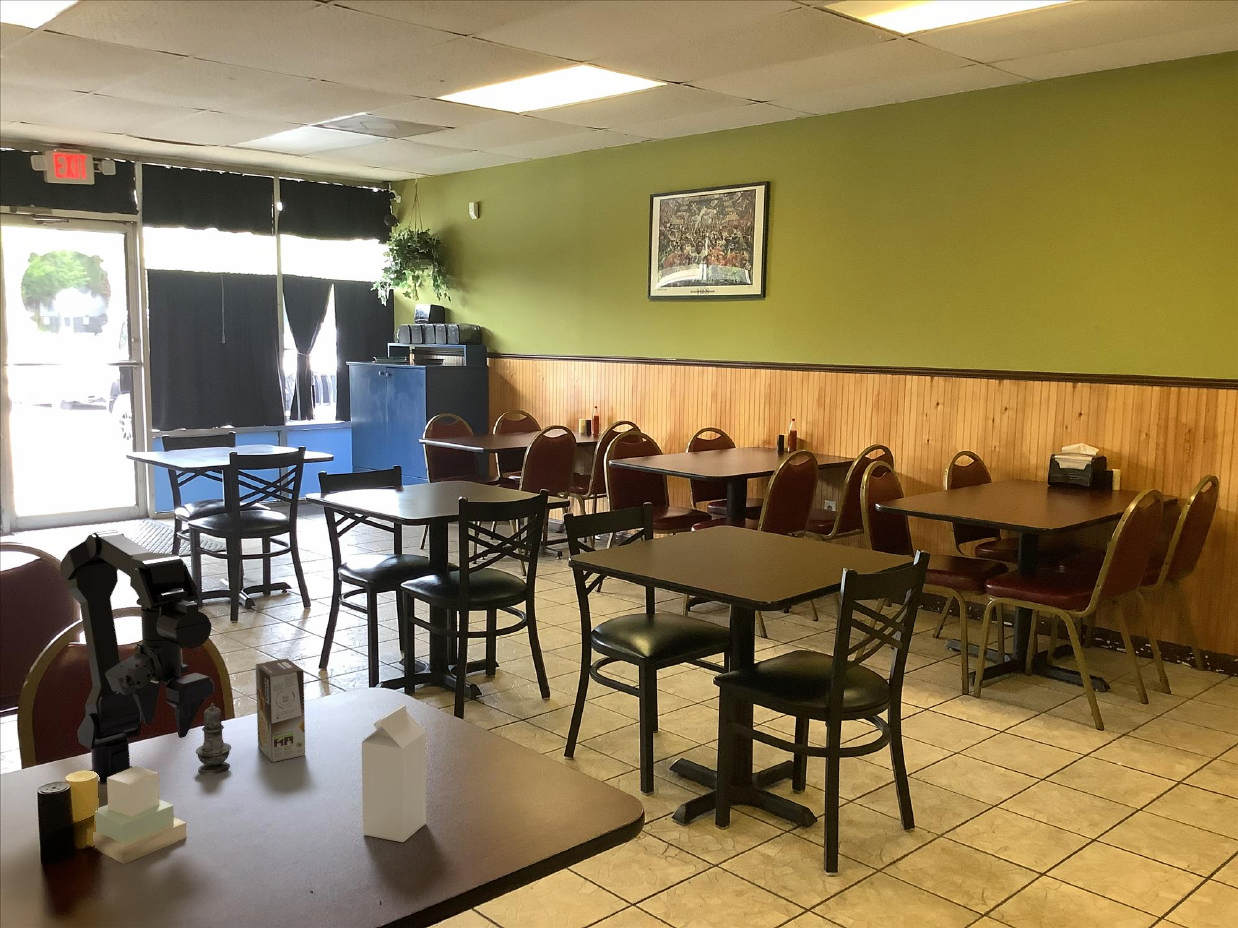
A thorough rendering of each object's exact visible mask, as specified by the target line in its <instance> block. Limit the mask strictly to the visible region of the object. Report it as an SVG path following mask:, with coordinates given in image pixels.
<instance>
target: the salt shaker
mask: <svg viewBox="0 0 1238 928" xmlns="http://www.w3.org/2000/svg"><path fill="white" fill-rule="evenodd" d="M209 705H210V707H207V708H206V709H205V710H204V712H203V727H202V728H201V730H202V732H203V744H202V745H200V746H198V747H197V748H196V750H195V754H197V757H198V760H199V762H200V763H202V765H200V766H199V767H198V769H197V771H198V773H200V774H202V775H218V774H222V773H223V772H226V771H228V770H229V769H230V768H231V764H230V763H229V762H226V760H227V759H228V758H229V756H230V751H231V749H232V746H231V744H230V743H228V742H227V743H226V742H224V739H223V730H224V728H225V726H224V725H222V710H221V709H220V708H219V707H216V706H215V703H213V702H211V703H210V704H209Z"/></svg>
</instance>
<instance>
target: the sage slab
mask: <svg viewBox="0 0 1238 928" xmlns="http://www.w3.org/2000/svg"><path fill="white" fill-rule="evenodd" d="M97 808H98V811H97V810H96V811H95V821H96V831H98V832H100V833H102V834H104V835H106V836H108V837H110V838H112V839H114V840H115V841H117V842H119V843H121V844H126V843H128V842H131V841H133V840H136V839H138V838H141V837H143V836H146V835H148V834H151V833H153V832H156V831H158V830H161V829H163V828H166V827H168V826H171V825H173V824H174V817H175V816H174V815H175V814H174V804H172V803H169V802H166V801H165V800H162V799H160V804H159V805H157V806H155V807H153V808H150V809H148V810H146V811H144V812H142V813H139V814H137V815H135V816H133V817H129V816H126V815H123V814H120V813H116V812H113V811H110V810H108V804H105V805H103V806H100V807H97Z"/></svg>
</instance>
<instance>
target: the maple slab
mask: <svg viewBox="0 0 1238 928" xmlns="http://www.w3.org/2000/svg"><path fill="white" fill-rule="evenodd" d="M186 838H188V837H187V822H186V821H183V820H182V819H179V818H177V817H175V816H174V824H173V825H171V826H168V827H166V828H163V829H161V830H158V831H156V832H153V833H151V834H148V835H146V836H143V837H141V838H138V839H136V840H133V841H131V842H128V843H126V844H121V843H119V842H117V841H115V840H114V839H112V838H110V837H108V836H106V835H104V834H102V833H100V832H98V831H96V832H93V841H94V845H95V848H97V849H98V850H100V851H101V852H100V851H99V852H100V853H102V852H103V853H102V854H104V853H105V854H104V855H106V856H108V857H110V858H111V857H112V858H111V859H113V858H114V860H115V861H117V860H118V861H117V862H119V863H122V864H123V863H124V864H123V865H125V864H128V863H129V862H133V861H134V860H136V859H139V858H141V857H144V856H146V855H149V854H151V853H154V852H156V851H158V850H160V849H162V848H165V847H168V846H170V845H172V844H174V843H177V842H180V841H183V840H185V839H186ZM179 840H180V841H179ZM98 850H97V851H98ZM148 853H149V854H148Z"/></svg>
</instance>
